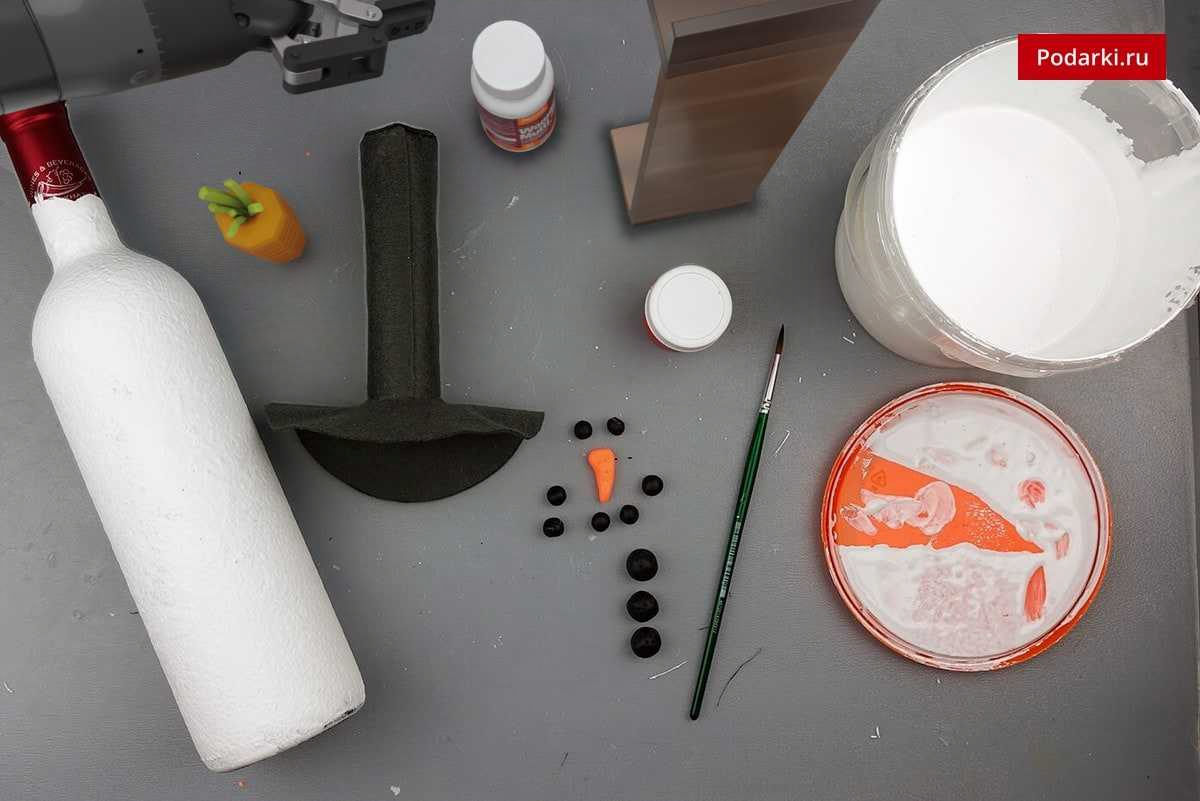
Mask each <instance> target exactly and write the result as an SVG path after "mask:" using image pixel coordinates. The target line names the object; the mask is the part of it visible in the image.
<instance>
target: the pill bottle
mask: <svg viewBox="0 0 1200 801" xmlns="http://www.w3.org/2000/svg"><path fill="white" fill-rule="evenodd" d="M472 48H473V49H472V52H471V56H472V64H471V68H470V83H471V84H470V85H471V90H472V93H473V97H474V100H475V103H476V107H477V111H478V114H479V117H480V118H479V119H480V120H481V121H480V122H481V124H482V128H483V130H484V132H485V134H486V136H488V138H489V139H490V140H491V141H492V142H493V143H494V144H495V145H496V146H498V147H500V148H501V149H503V150H505V151H508V152H514V153H525V152H528V151H532V150H535V149H536V148H539V147H540V146H541V145H543V144H544V143H545V142H546V141H547V140H548V139H549V138H550V136H551V134H552V132H553V131H554V128H555V124H556V120H557V118H556V117H557V110H556V109H557V107H556V94H555V93H556V92H555V73H554V68H553V64H552V62H551V59H550V58H549V56H548V55H547V53H546V51H545V47H544V44H543V41H542V39H541V38H540V35H539V34H538V33H537V32H536V31H535V30H534V29H533V28H531V27H530V26H529V25H527V24H525V23H523V22H521V21H518V20H517V21H516V20H511V19H510V20H508V19H507V20H500V21H496V22H494V23H492V24H490V25H488V26H487V27H485V28H484V29H483V30H481V32H480V33H479V35H478V36H477V38H476V39H475V42H474V44H473V47H472Z"/></svg>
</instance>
